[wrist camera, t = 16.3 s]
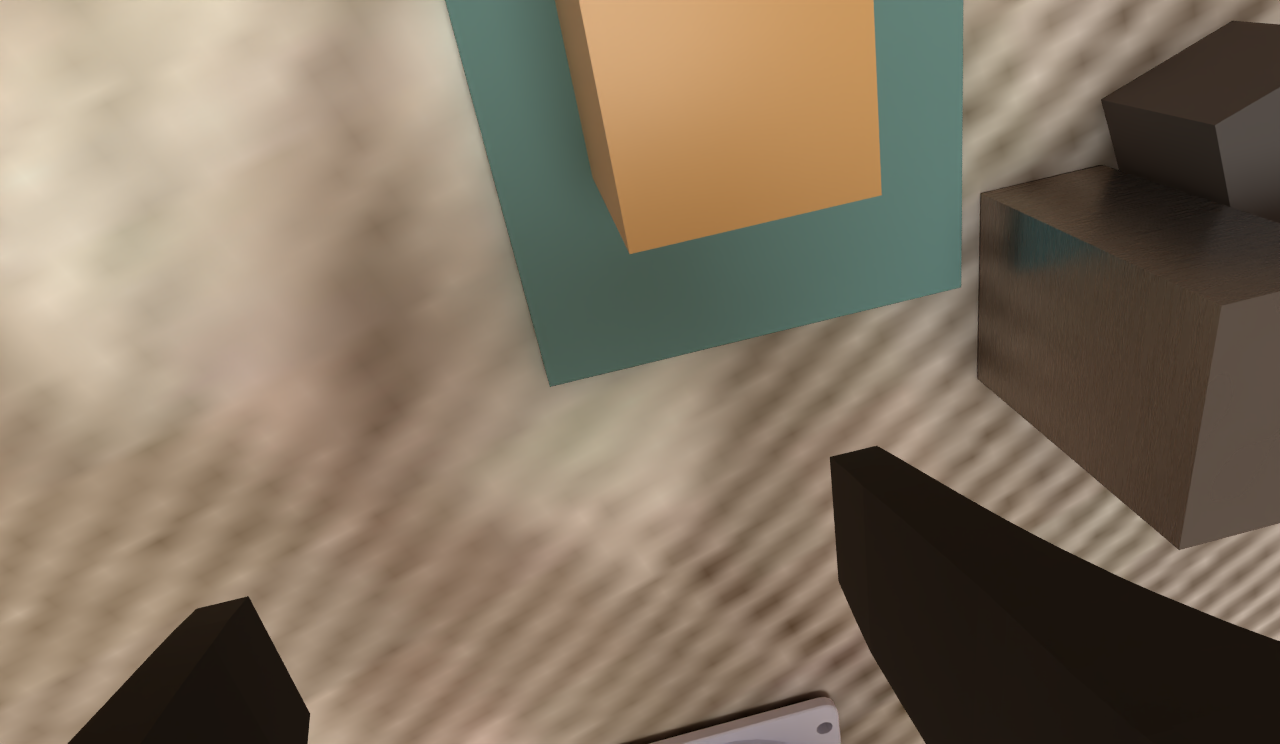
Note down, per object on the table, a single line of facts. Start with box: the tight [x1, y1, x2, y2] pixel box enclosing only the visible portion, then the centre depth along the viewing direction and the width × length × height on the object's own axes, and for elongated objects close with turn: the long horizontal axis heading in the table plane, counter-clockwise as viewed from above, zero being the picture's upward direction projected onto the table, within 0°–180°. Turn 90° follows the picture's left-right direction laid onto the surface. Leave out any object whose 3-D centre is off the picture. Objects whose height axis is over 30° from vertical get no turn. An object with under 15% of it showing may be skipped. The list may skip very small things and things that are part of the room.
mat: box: [445, 0, 963, 387], centre depth 17 cm, size 10×10×1 cm
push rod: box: [1101, 21, 1280, 223], centre depth 19 cm, size 10×3×4 cm, turn 30°
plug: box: [555, 0, 882, 254], centre depth 13 cm, size 5×4×5 cm
